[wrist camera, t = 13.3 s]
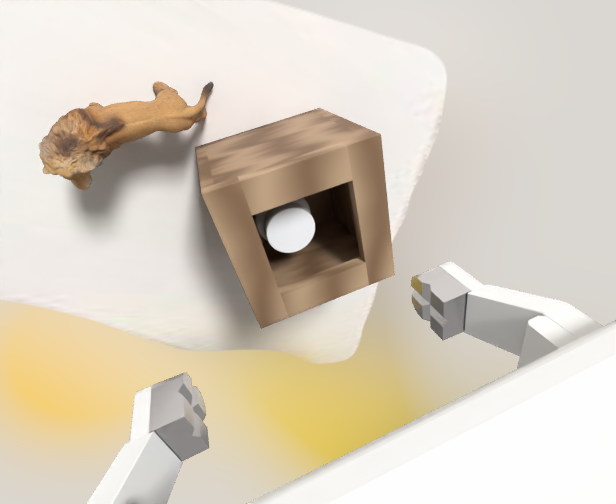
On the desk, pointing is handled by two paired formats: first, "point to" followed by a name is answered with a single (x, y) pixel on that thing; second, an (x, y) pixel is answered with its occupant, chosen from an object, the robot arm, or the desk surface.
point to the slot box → (321, 199)
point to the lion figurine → (113, 131)
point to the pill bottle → (287, 226)
